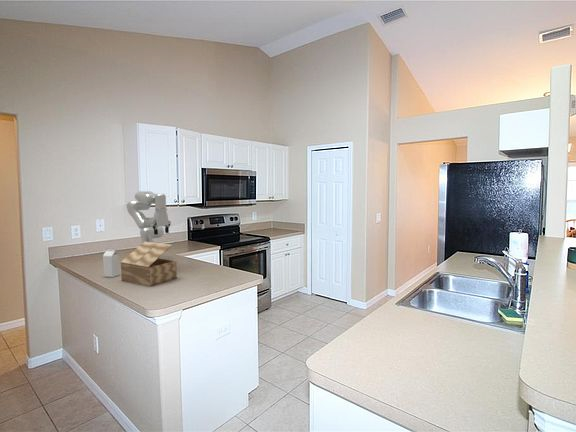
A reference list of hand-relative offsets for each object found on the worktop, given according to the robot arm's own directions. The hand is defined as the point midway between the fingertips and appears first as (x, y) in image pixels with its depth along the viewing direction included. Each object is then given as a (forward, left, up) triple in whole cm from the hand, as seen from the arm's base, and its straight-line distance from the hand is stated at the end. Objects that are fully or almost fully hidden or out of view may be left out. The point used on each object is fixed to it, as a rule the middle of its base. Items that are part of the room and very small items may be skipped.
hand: (161, 233), depth 235 cm
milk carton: (+26, -22, -29) cm, 44 cm away
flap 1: (+20, +2, -10) cm, 23 cm away
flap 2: (+20, +16, -10) cm, 28 cm away
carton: (+19, +9, -28) cm, 35 cm away
